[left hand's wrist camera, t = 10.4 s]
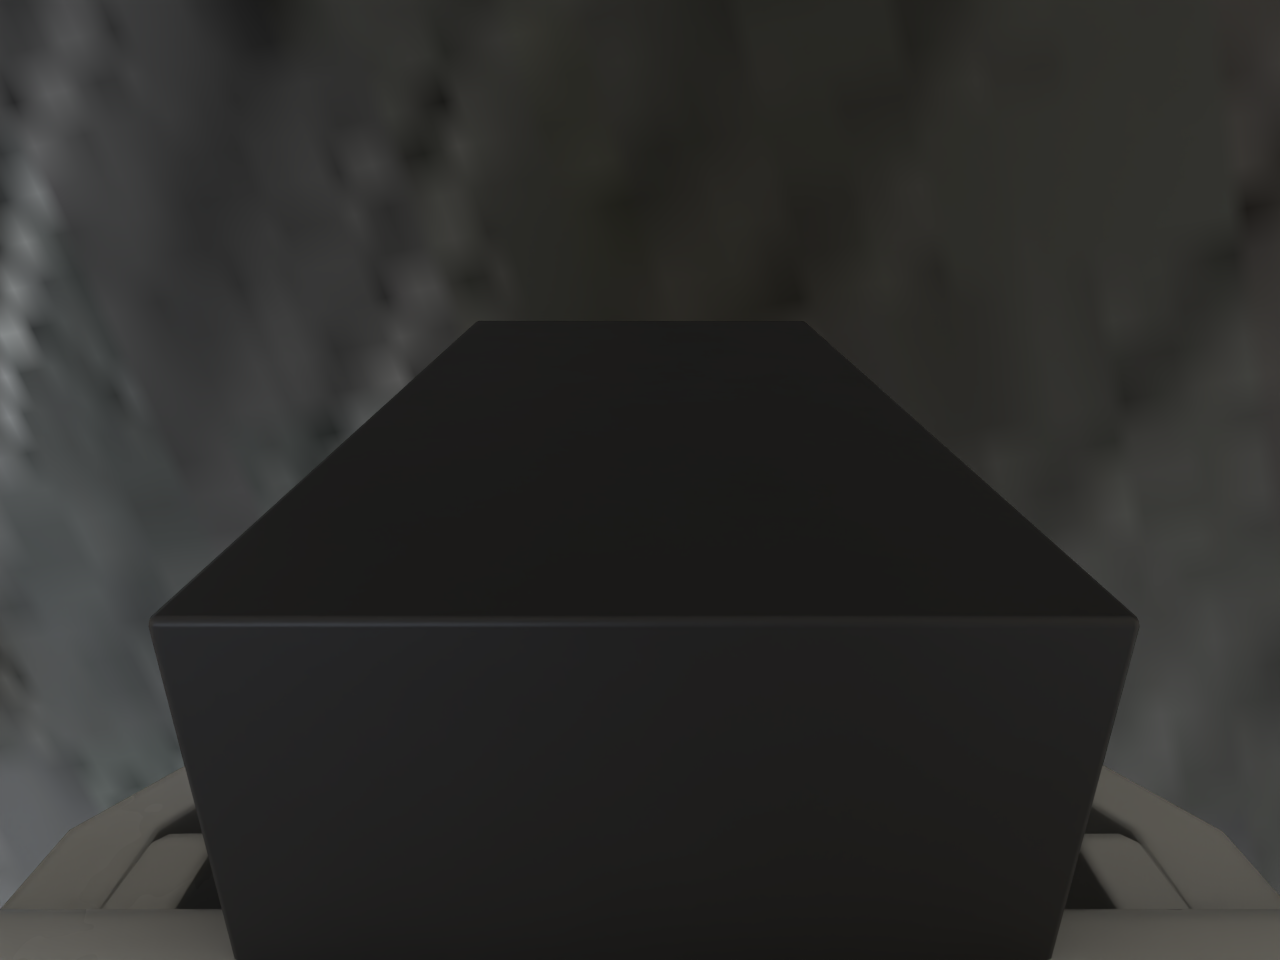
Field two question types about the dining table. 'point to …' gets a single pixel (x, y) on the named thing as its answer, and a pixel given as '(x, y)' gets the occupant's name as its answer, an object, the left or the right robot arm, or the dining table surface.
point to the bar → (643, 671)
